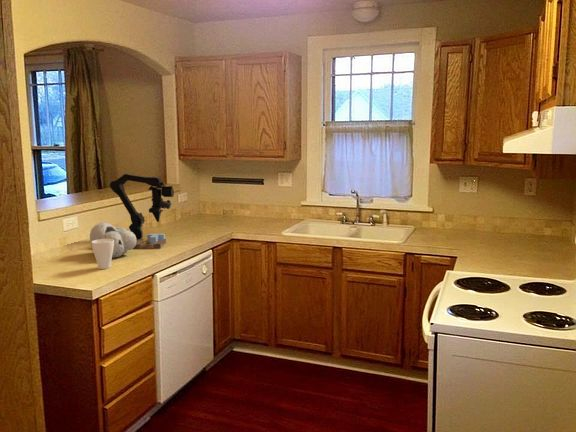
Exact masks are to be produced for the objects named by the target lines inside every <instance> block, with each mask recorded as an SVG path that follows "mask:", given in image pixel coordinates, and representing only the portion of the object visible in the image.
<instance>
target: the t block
mask: <svg viewBox="0 0 576 432" xmlns="http://www.w3.org/2000/svg"><path fill="white" fill-rule="evenodd" d="M146 237H147V242H149V244H154V243H156V242H157V241H162V240H164V239H166V234H165V233H147V236H146Z"/></svg>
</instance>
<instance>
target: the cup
mask: <svg viewBox="0 0 576 432" xmlns="http://www.w3.org/2000/svg"><path fill="white" fill-rule="evenodd" d="M91 243H92V246H91V248H92V251H93V255H94V257H95V260H96V264H97V269H99V270H109V269H111V267H112V259H113V258H112V254H113V248H114V240H113V239H99V240H94V241H92V242H90V244H91Z"/></svg>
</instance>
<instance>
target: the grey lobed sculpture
mask: <svg viewBox="0 0 576 432" xmlns="http://www.w3.org/2000/svg"><path fill="white" fill-rule="evenodd" d="M116 228H117V227H115V226H114V225H113V224H111V223H109V222H105V221H103V222H99V223H97V224H95V225H94V226H92V228H91V231H90V233H89V241H90V245H91V247H92V243H91V242H92V241H94V240H99V239H113V240H114V248H113V254H112V259H113V258H119V257H121V256H122V255H125V254H126V253H127V252H128V251H131V250H133V249H134V247H135V245H136V243H137V242H138V241H137V240H138V239H136V236H135V234H133V232H131V231H130V230H127V229H126V230H123V231H121V232H119V233H118V232H117V230H116Z"/></svg>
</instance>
